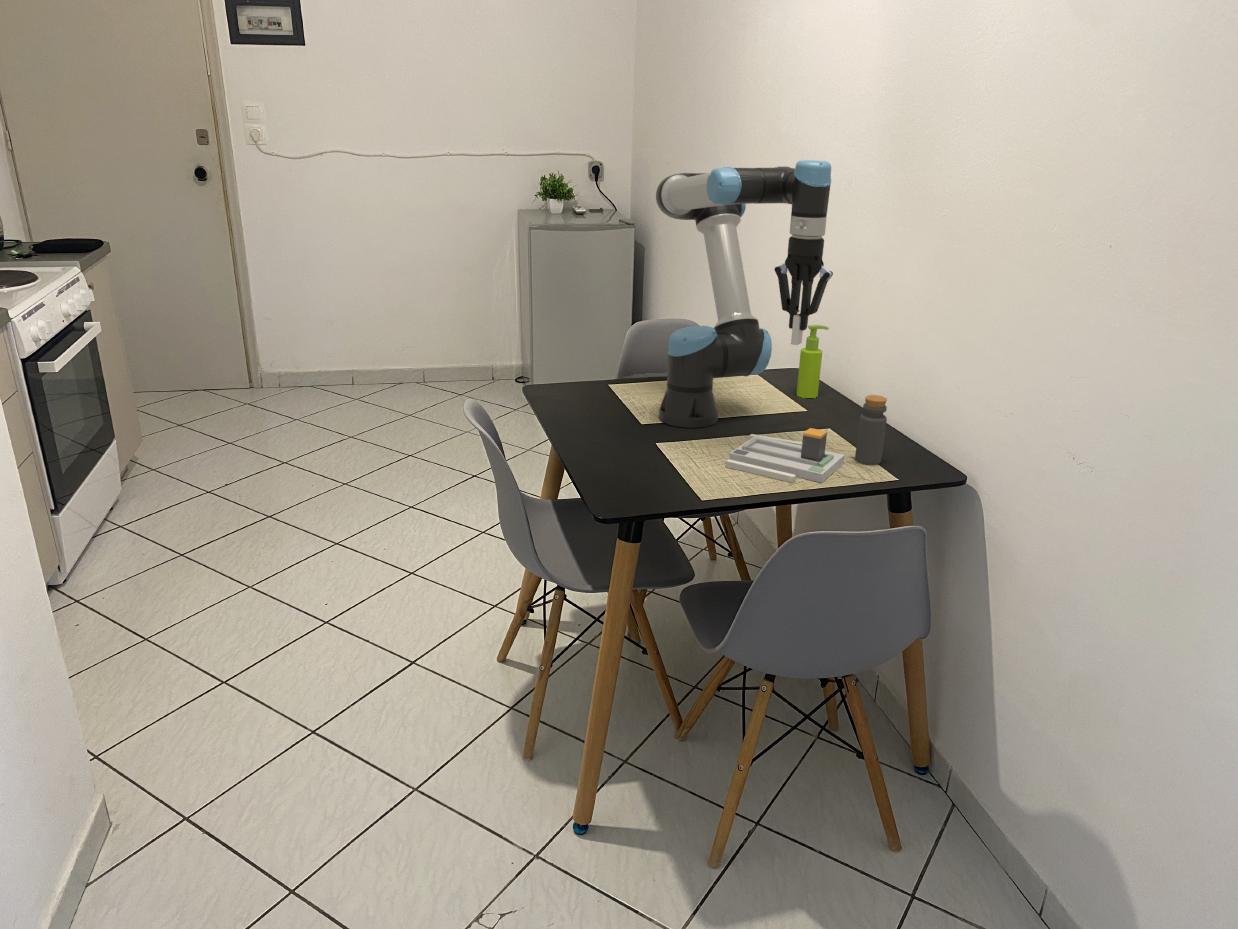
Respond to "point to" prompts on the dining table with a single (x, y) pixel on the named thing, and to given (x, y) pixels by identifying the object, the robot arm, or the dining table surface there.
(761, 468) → the light grey long bar
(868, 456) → the bottle
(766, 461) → the panel
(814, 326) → the soap dispenser
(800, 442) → the light grey thin bar
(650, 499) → the dining table surface
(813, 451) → the knob
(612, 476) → the dining table surface
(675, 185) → the robot arm
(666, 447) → the dining table surface
